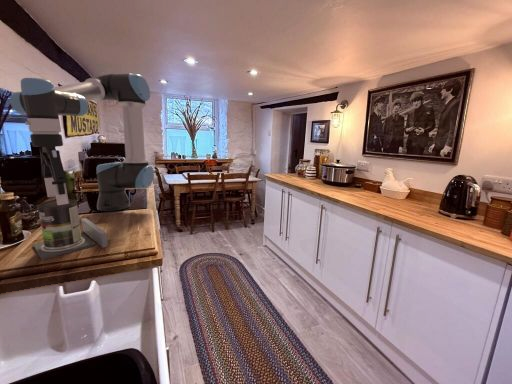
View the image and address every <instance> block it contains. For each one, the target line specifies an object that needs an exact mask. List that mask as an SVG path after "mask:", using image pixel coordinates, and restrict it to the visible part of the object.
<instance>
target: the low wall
mask: <svg viewBox="0 0 512 384" xmlns="http://www.w3.org/2000/svg"><path fill="white" fill-rule="evenodd" d="M80 221H81V226H82V231H83V233H85V234H86V236H87V237H88V238H90V239H92V240H93V242H94V243H96V244H98V245H99V246H100V247H101V248H103V249H104V248H107V247H109V245H108V244H109V243H108V236H107V232H106V231H105V230H103V228H101V227H99V226H97V225H96V224H95V223H93V222H92V221H91V220H89V219H88V218H86V217H84V218H81V219H80Z"/></svg>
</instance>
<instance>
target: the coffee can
mask: <svg viewBox="0 0 512 384" xmlns="http://www.w3.org/2000/svg"><path fill="white" fill-rule="evenodd" d="M68 202H69V204H63V205H57V200H56V199H53V200H49V201H43V202H41V203H38V204H37V205H36V206H37V212H38V217H39V222H40V227H41V233H42V234H41V235H42V240H43V241H42V242H44V247H45V248H46V249H51V250H55V249H63V248H68V247H71V246H74V245H76V244H78V243H80V242H81V241H82V238H81V233H82V232H81V227H80V226H81V225H80V217H79V212H78V211H79V210H78V200H76V199H69V198H68Z"/></svg>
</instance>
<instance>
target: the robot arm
mask: <svg viewBox="0 0 512 384" xmlns="http://www.w3.org/2000/svg"><path fill="white" fill-rule="evenodd" d="M20 90H21V91H16V92H13V93H12V94H11V95H10V97H9V103H10V105H11V107H12V109H13V110H14V111H15V112H16V113H18V114H20V115H26V119H27V121H24V124H25V125H26V126H28V131H29V132H30V133H31V134H30V135H29V136H30V138H29V139H30V141H31V146H32V147H36V148H39V151H38V152H39V154H40V164H41V165H40V166H41V175H42V176H43V177H44V178H43V179H44V185H45V189H46V195H47V198H52V197H53V198H55V200H57V205H63V204H69V202H68V199H69V197H68V192H67V185H66V183H67V181H68V179H67V175H66V173H65V169H64V165H63V162H62V159H61V155H60V154H61V151H60V150H59V149H58V150H57V149H56V147H63V146H64V142H63V141H64V140H63V135H61V132H62V127H61V121H60V116H71V117H83V116H85V115H86V114H87V113H88V112H89V111H88V110H89V102H91V101H95V102H99V101H117V102H118V104H119V105H120V106H121V108H122V120H123V136H124V137H123V138H124V152H125V153H124V154H125V159H124V160H123V161H116V162H115V161H114V162H109V163H103V164H102V163H101V164H98V165H97V166H96V172H95V173H96V178H97V186H98V197H97V201H96V210H97V211H100V212H114V211H115V212H116V211H122V210H125V209H128V208H130V207H131V200H130V199H129V196H128V194H127V193H126V189H133V190H134V189H137V190H145V189H148V188H149V187H150V186H152V184H153V182H154V178H155V170H154V168H153V166H151V165H149V161H148V160H147V159H146V155H145V154H146V151H145V150H146V149H145V135H144V133H145V132H144V120H143V119H144V117H143V116H144V115H143V114H144V112H143V109H144V108H145V107H146V102H147V101H149V100H150V98H151V90H150V86H149V83H148V82H147V80H146V79H145V77H144V76H143V75H141V74H138V73H108V74H102V75H97V76H95V77H89V78H86V79H85V80H84V81H82V82H77V83H69V84H65V85H64V84H63V85H60V86H59V85H58V86H54V83H53V81H52V80H48V79H44V78H39V77H38V78H37V77H36V78H35V77H24V78H21V80H20Z"/></svg>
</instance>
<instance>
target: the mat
mask: <svg viewBox="0 0 512 384" xmlns="http://www.w3.org/2000/svg"><path fill="white" fill-rule="evenodd" d="M81 238H82V241H81V242H80V243H78V244H76V245H74V246H71V247H68V248H63V249H55V250H51V249H46V248H45V247H44V241H40V242H36V243H33V244H32V246H33V248H34V249H35V251H36V252H37V254H38V256H39V258H40V259H41V260H42V261H43V260H47V259H50V258H54V257H58V256H61V255H65V254H68V253H72V252H76V251H80V250H83V249H86V248H91V247H93V246H94V247H95V245H96V244H95V241H92V240H91V238H90V237H89V236H88V235H85V234H84V232H81Z"/></svg>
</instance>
